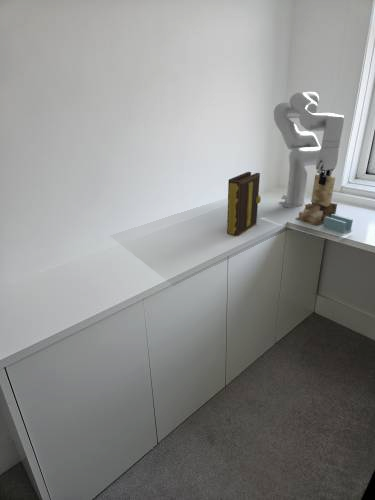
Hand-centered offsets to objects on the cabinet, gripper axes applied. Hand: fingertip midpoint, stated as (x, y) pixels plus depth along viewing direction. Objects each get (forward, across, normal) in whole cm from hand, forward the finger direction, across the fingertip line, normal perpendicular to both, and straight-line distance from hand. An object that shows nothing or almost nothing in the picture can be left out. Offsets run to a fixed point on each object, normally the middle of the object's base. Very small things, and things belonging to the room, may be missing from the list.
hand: (323, 183), depth 156 cm
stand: (+18, +6, +14) cm, 24 cm away
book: (+18, +37, -15) cm, 44 cm away
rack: (+18, +4, +1) cm, 19 cm away
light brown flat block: (+10, 0, 0) cm, 10 cm away
